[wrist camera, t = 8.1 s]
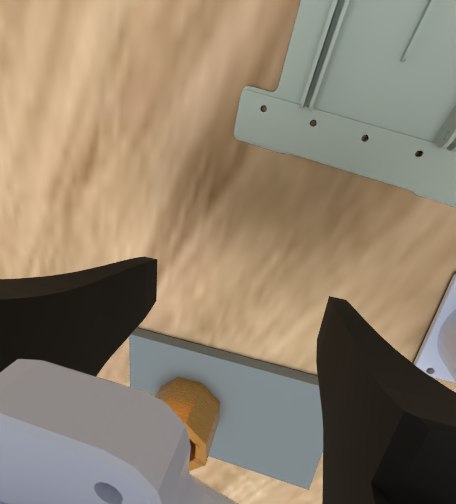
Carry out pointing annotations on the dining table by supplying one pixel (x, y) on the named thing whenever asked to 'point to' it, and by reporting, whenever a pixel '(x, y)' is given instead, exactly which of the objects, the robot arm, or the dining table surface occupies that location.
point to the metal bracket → (366, 93)
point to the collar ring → (193, 415)
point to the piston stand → (242, 404)
